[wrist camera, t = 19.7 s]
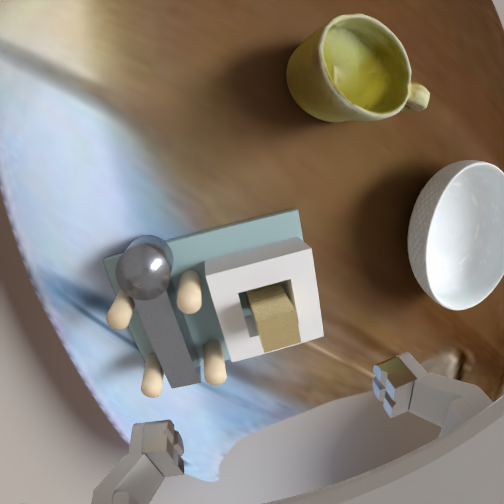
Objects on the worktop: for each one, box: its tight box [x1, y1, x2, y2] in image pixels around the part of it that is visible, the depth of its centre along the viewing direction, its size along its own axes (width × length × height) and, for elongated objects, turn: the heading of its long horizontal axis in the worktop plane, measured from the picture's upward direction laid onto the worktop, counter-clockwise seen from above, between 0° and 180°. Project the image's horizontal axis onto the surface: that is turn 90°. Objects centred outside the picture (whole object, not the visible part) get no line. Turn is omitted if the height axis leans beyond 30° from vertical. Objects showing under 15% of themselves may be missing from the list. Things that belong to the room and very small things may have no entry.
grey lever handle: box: [115, 235, 201, 388], centre depth 28 cm, size 14×5×4 cm, turn 12°
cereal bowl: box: [408, 160, 504, 310], centre depth 31 cm, size 17×17×7 cm
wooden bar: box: [245, 282, 301, 353], centre depth 27 cm, size 3×3×8 cm
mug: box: [286, 14, 430, 122], centre depth 24 cm, size 12×10×10 cm
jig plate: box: [103, 208, 324, 398], centre depth 29 cm, size 14×19×6 cm
